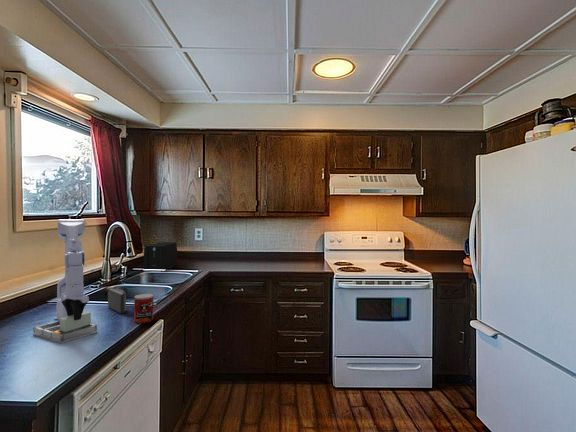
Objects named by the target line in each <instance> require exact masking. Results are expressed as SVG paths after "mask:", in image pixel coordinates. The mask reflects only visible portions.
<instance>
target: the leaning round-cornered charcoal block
mask: <svg viewBox="0 0 576 432" xmlns="http://www.w3.org/2000/svg"><path fill="white" fill-rule="evenodd" d="M126 298H127V293H126V291H124V290H123V289H119V288H110V289H108V290H107V307H108V308H109V309H112V310H113V311H115V312H117V313H119V314H125V312H126V309H127V299H126Z"/></svg>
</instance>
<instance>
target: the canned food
mask: <svg viewBox="0 0 576 432" xmlns="http://www.w3.org/2000/svg"><path fill="white" fill-rule="evenodd" d="M133 299H134V303H133V304H134V308H133V310H134V312H133V313H134V314H133V315H134V319H133V320H134V322H135V324H148V323H150V322H153V320H154V295H153V294H152V293H140V294H136V295H135V296H134V298H133Z"/></svg>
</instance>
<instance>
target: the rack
mask: <svg viewBox="0 0 576 432" xmlns="http://www.w3.org/2000/svg"><path fill="white" fill-rule="evenodd" d="M32 329H33V331H32V333H33V335H34V336H37V337H40V338H44V339H46V340H49V341H53V342H55V343H59V344H64V343H68V342H71V341H73V340H76V339H80V338H83V337H86V336H89V335H90V336H91V335H93V334H95V333H98V325H97V324H95V323H91V324H89V325H86V326H83V327H79V328H76V329H73V330H70V331H67V332H63V331H60V320H56V321H51V322H49V323H44V324H41V325H37V326H33V328H32Z"/></svg>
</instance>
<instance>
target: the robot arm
mask: <svg viewBox="0 0 576 432" xmlns="http://www.w3.org/2000/svg"><path fill="white" fill-rule="evenodd" d="M84 234H85V220H84V219H83V218H82V219H77V218H76V219H75V218H74V219H61V218H60V219H58V220H57V237H58V238H59V239H62V240H63V242H64V257H63V258H64V276H63V277H61V278H60V279H59V280H58V281H57V286H56V288H57V289H56V290H57V291H56V297H57V298H58V300H57V302H56V306H55V307H56V311H55V313H56V317H53V318H54V320H57V321H59V320H60V318H64V317H67V316H71V315H73V316H74V320H79V319H81V316H82V313H83V312H84V309H85V308H86V305H87V304H88V303H89V301H90V297H89V296H88V295H87V294H85V293H84V289H85V288H84V287H85V286H84V267H85V263H86V256H85V251H84V250H83V245H82V241H81V240H79V239H80V238H82V237H83V236H84Z"/></svg>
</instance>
